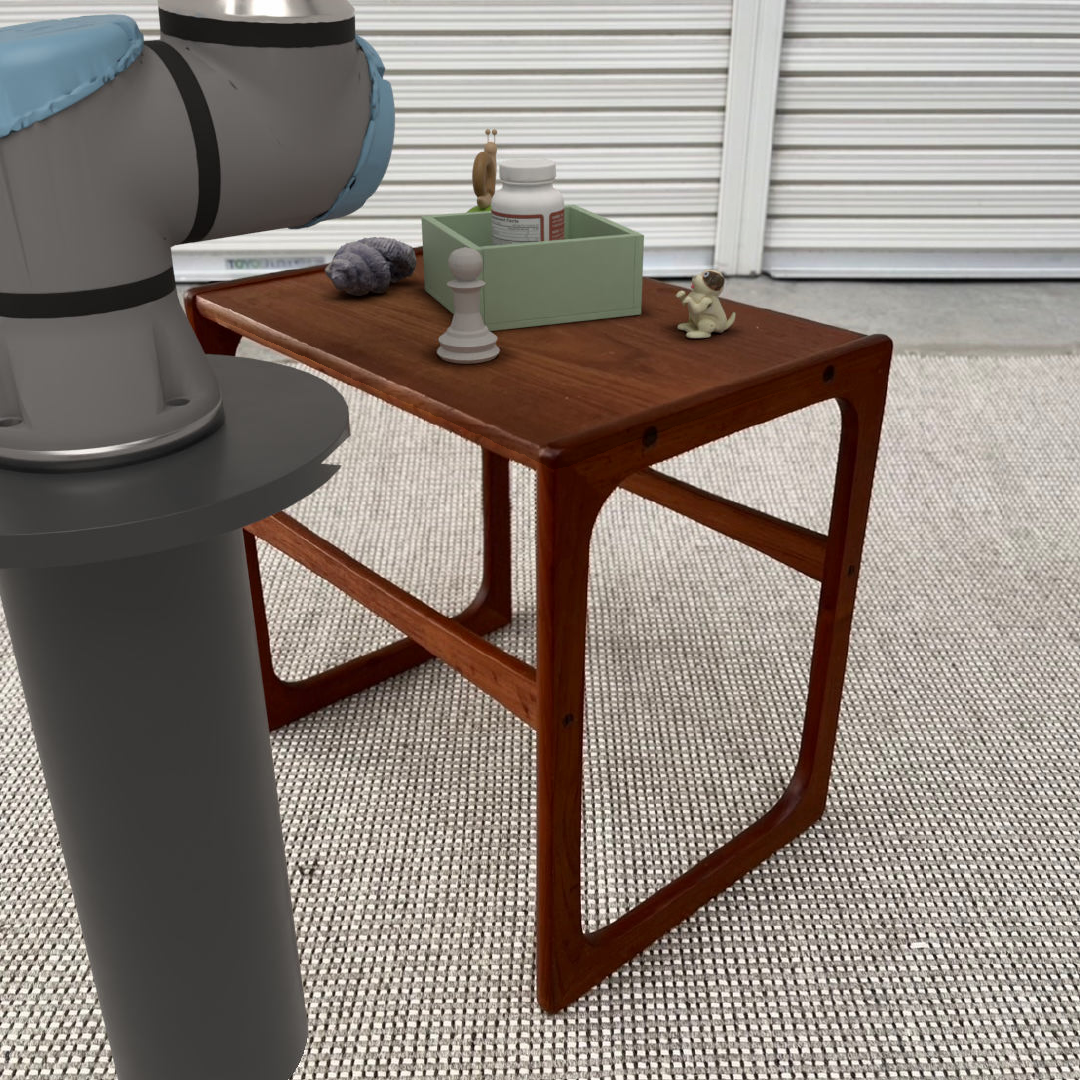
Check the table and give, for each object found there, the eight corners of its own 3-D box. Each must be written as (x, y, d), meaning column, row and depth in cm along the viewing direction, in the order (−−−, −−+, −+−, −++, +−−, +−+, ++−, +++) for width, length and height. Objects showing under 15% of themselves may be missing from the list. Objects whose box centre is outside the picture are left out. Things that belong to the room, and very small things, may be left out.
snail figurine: (520, 253, 117) (519, 129, 111) (507, 267, 111) (505, 137, 106) (468, 251, 118) (464, 128, 112) (453, 265, 112) (448, 136, 107)
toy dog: (672, 327, 92) (675, 265, 90) (732, 326, 92) (736, 264, 90) (678, 339, 89) (681, 276, 87) (740, 339, 89) (744, 275, 87)
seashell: (401, 292, 108) (334, 320, 100) (369, 243, 107) (299, 268, 99) (436, 262, 104) (370, 289, 97) (403, 211, 104) (334, 234, 96)
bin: (475, 333, 91) (473, 249, 88) (424, 290, 103) (421, 216, 100) (641, 314, 96) (644, 234, 93) (574, 276, 108) (574, 204, 105)
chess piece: (424, 358, 85) (418, 249, 82) (460, 342, 89) (457, 237, 85) (476, 368, 83) (473, 257, 79) (511, 351, 86) (510, 244, 83)
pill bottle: (540, 283, 103) (540, 154, 98) (578, 298, 98) (579, 163, 93) (480, 292, 100) (476, 160, 95) (516, 308, 95) (514, 170, 90)
